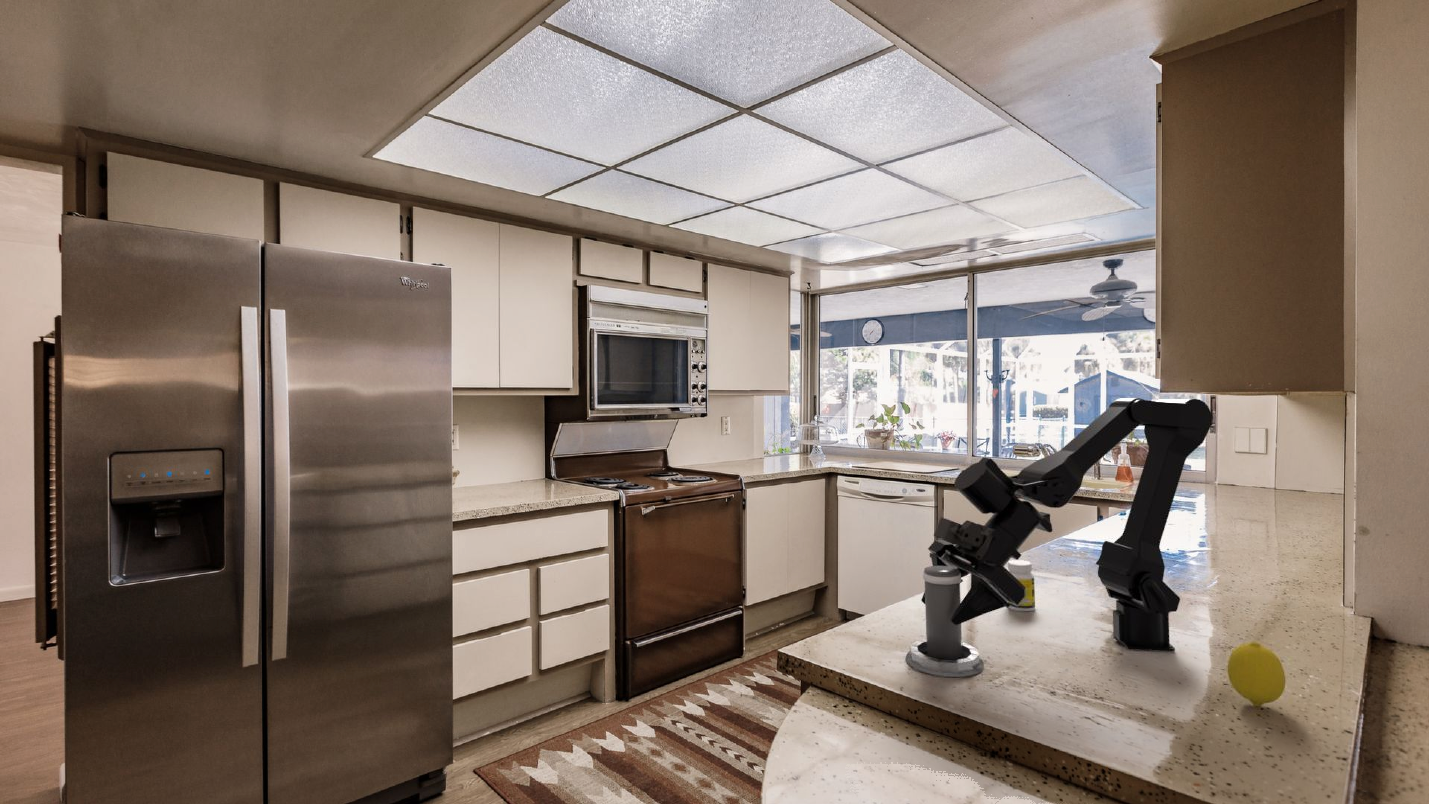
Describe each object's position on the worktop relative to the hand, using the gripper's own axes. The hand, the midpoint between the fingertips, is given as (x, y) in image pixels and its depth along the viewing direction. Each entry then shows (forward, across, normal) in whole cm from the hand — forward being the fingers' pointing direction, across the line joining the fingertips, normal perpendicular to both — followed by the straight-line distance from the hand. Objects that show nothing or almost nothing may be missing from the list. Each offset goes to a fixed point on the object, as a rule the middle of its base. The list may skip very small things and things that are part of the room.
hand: (937, 612), depth 98 cm
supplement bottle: (-13, -20, +24) cm, 33 cm away
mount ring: (+5, 0, +6) cm, 8 cm away
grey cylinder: (+4, 0, +6) cm, 7 cm away
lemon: (-17, +21, +28) cm, 39 cm away
